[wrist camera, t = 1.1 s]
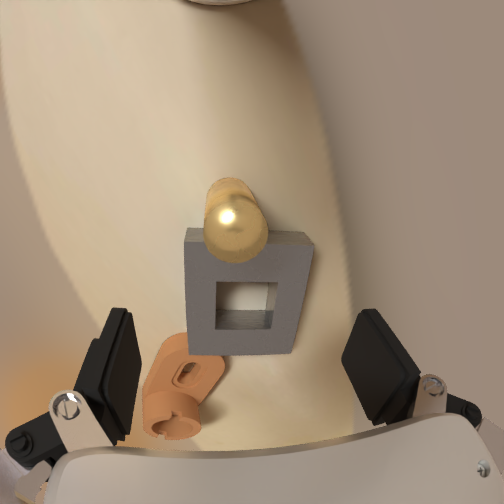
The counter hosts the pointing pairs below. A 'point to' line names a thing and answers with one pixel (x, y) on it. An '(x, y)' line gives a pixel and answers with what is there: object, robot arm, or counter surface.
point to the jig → (246, 321)
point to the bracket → (177, 389)
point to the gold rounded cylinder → (233, 222)
